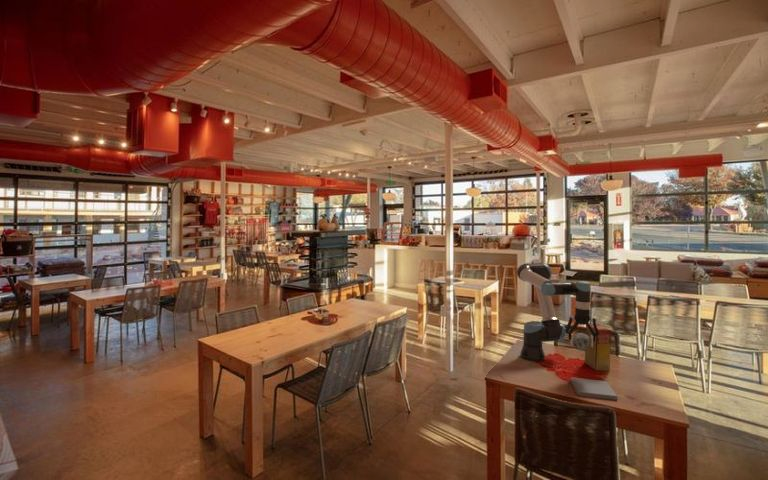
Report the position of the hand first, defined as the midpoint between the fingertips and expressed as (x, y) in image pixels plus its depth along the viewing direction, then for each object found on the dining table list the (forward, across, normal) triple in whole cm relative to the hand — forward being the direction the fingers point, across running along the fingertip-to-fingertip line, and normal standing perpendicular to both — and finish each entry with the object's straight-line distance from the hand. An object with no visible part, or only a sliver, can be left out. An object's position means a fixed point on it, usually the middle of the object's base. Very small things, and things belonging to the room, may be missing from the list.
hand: (581, 345), depth 217 cm
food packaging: (+18, +13, +17) cm, 28 cm away
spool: (+2, 0, 0) cm, 2 cm away
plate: (+18, +2, -19) cm, 26 cm away
